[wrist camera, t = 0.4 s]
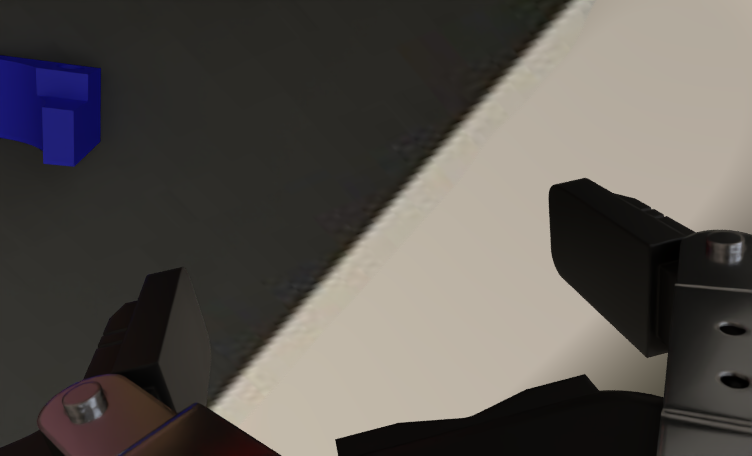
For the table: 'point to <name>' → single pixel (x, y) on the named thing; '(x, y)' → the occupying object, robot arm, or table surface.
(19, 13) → the table surface
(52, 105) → the blue curved block
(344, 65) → the table surface
